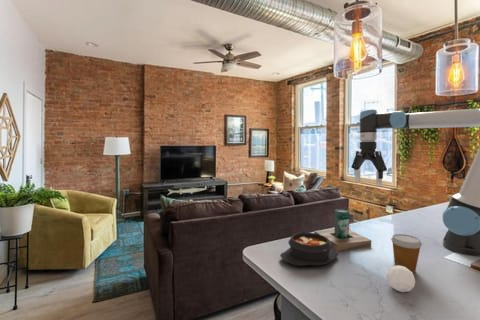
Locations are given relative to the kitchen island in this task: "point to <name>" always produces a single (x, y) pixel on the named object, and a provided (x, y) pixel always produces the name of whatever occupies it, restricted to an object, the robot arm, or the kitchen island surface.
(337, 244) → the frame
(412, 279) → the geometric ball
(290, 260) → the casserole
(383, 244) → the kitchen island surface
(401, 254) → the disposable coffee cup
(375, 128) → the robot arm
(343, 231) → the can
